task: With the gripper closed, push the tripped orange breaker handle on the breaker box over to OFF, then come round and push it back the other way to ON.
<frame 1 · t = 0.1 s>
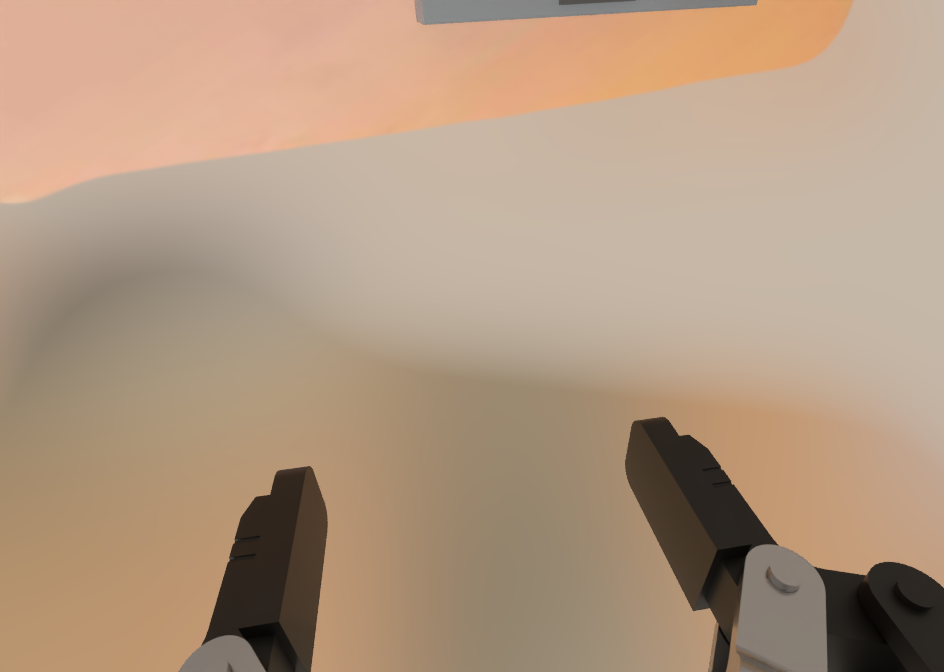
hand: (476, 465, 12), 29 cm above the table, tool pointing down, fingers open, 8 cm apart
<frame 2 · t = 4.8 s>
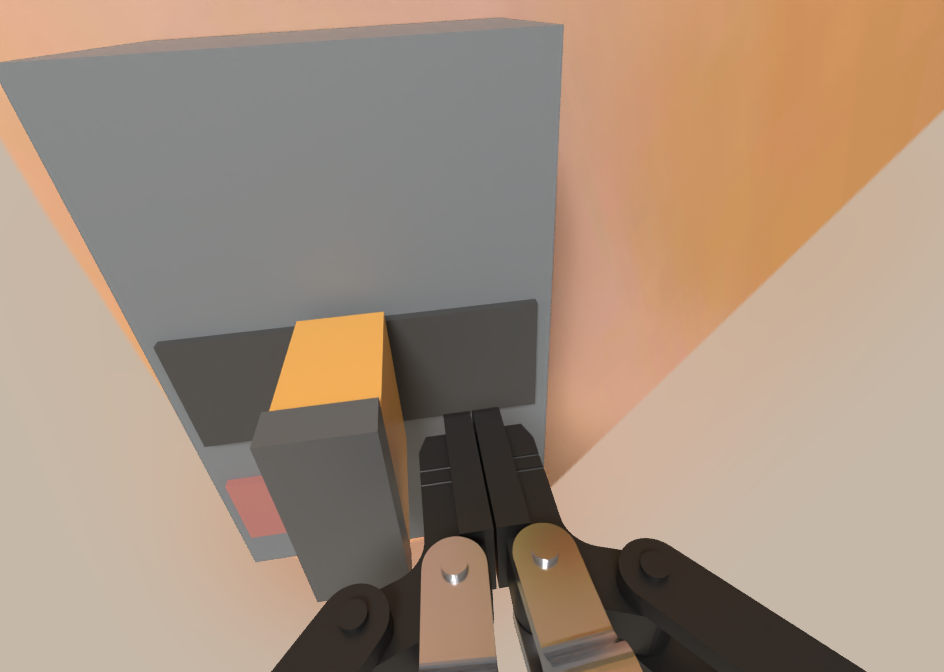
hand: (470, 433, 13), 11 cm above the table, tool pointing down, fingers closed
breaker handle: (351, 445, 13), point 11 cm above the table, slide at 0.2 cm, touching gripper
breaker box: (372, 263, 22), on the table
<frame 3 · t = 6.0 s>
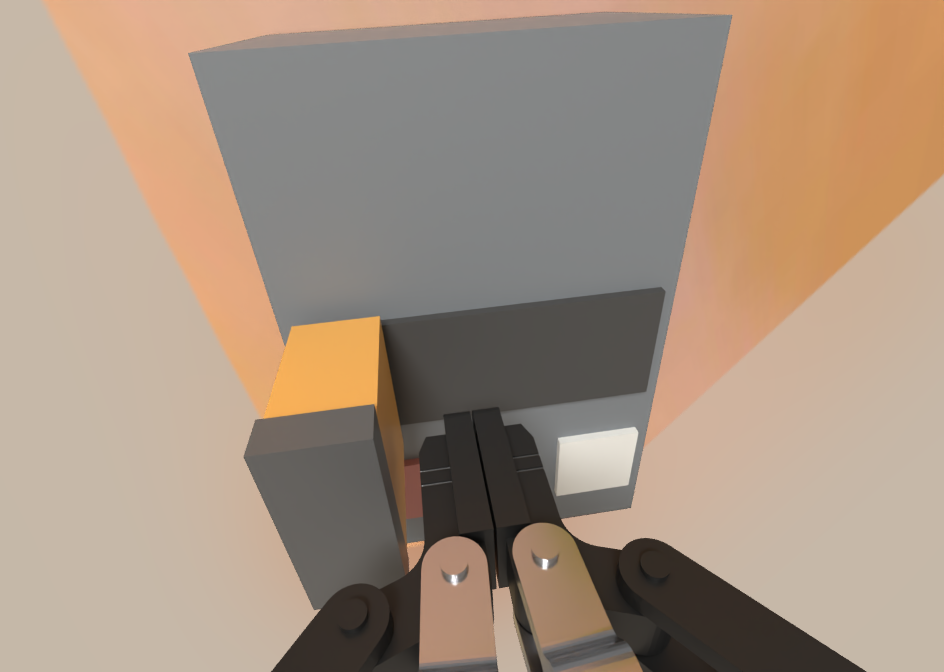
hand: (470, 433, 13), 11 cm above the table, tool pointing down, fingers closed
breaker handle: (347, 451, 13), point 11 cm above the table, slide at 4.3 cm, touching gripper
breaker box: (458, 256, 22), on the table
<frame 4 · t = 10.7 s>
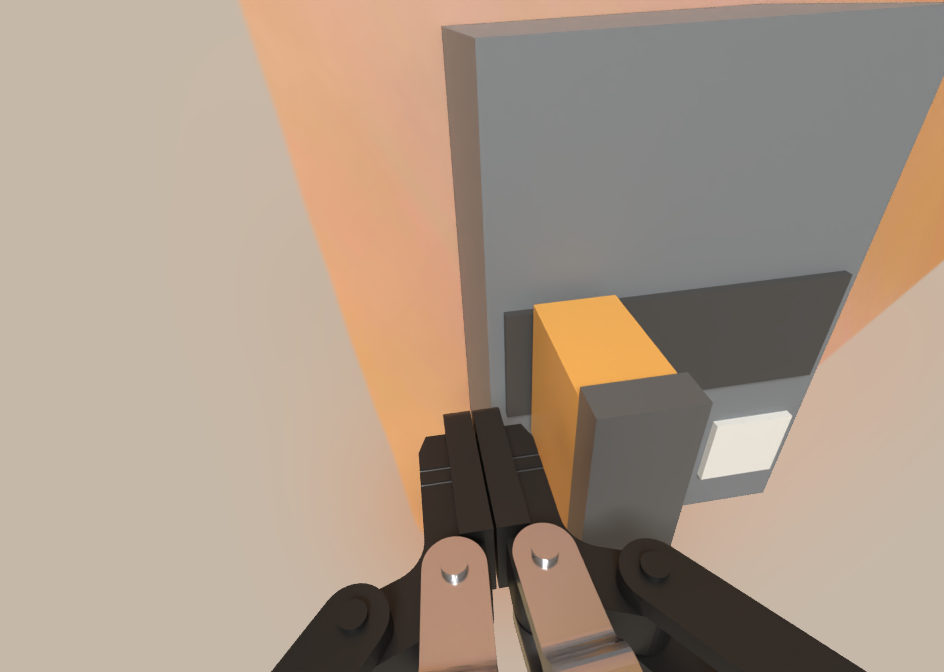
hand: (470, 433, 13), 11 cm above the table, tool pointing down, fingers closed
breaker handle: (597, 424, 13), point 11 cm above the table, slide at 3.5 cm, touching gripper
breaker box: (587, 246, 23), on the table
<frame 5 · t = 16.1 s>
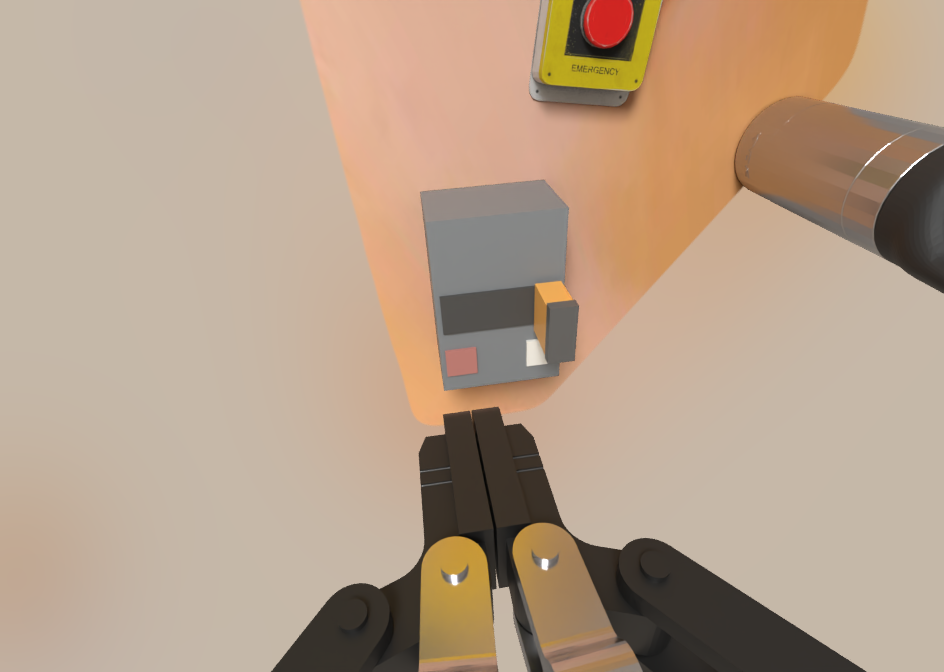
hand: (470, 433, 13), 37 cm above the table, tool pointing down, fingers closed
emergency button: (592, 3, 41), on the table
breaker handle: (554, 320, 43), point 11 cm above the table, slide at -4.3 cm
breaker box: (486, 270, 52), on the table
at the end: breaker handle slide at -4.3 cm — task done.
